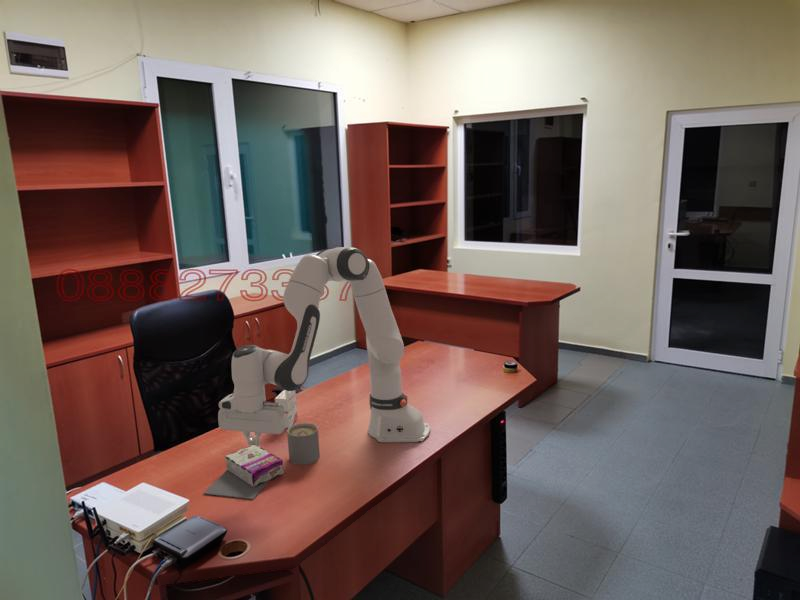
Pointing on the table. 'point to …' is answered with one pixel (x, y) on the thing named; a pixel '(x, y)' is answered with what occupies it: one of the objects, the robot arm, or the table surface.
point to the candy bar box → (254, 465)
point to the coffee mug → (303, 443)
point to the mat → (234, 487)
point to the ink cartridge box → (288, 406)
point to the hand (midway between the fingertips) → (253, 444)
